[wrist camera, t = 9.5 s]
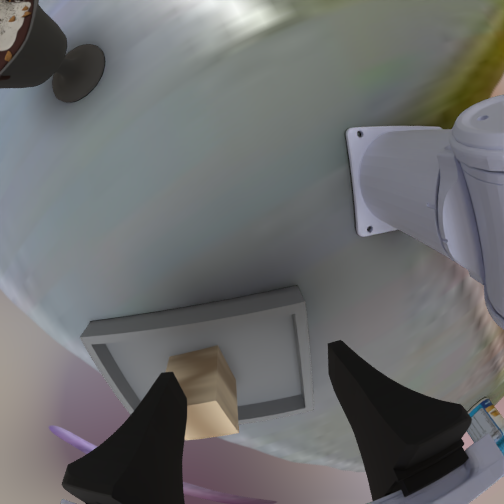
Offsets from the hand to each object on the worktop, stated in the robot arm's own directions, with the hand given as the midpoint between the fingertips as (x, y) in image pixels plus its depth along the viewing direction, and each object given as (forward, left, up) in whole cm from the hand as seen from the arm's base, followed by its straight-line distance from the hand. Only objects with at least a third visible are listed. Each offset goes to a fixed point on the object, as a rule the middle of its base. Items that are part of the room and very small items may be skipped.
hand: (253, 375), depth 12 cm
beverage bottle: (-42, +44, -10) cm, 62 cm away
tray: (+5, +8, -9) cm, 13 cm away
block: (+5, +7, -9) cm, 12 cm away
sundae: (+9, -19, -10) cm, 23 cm away
